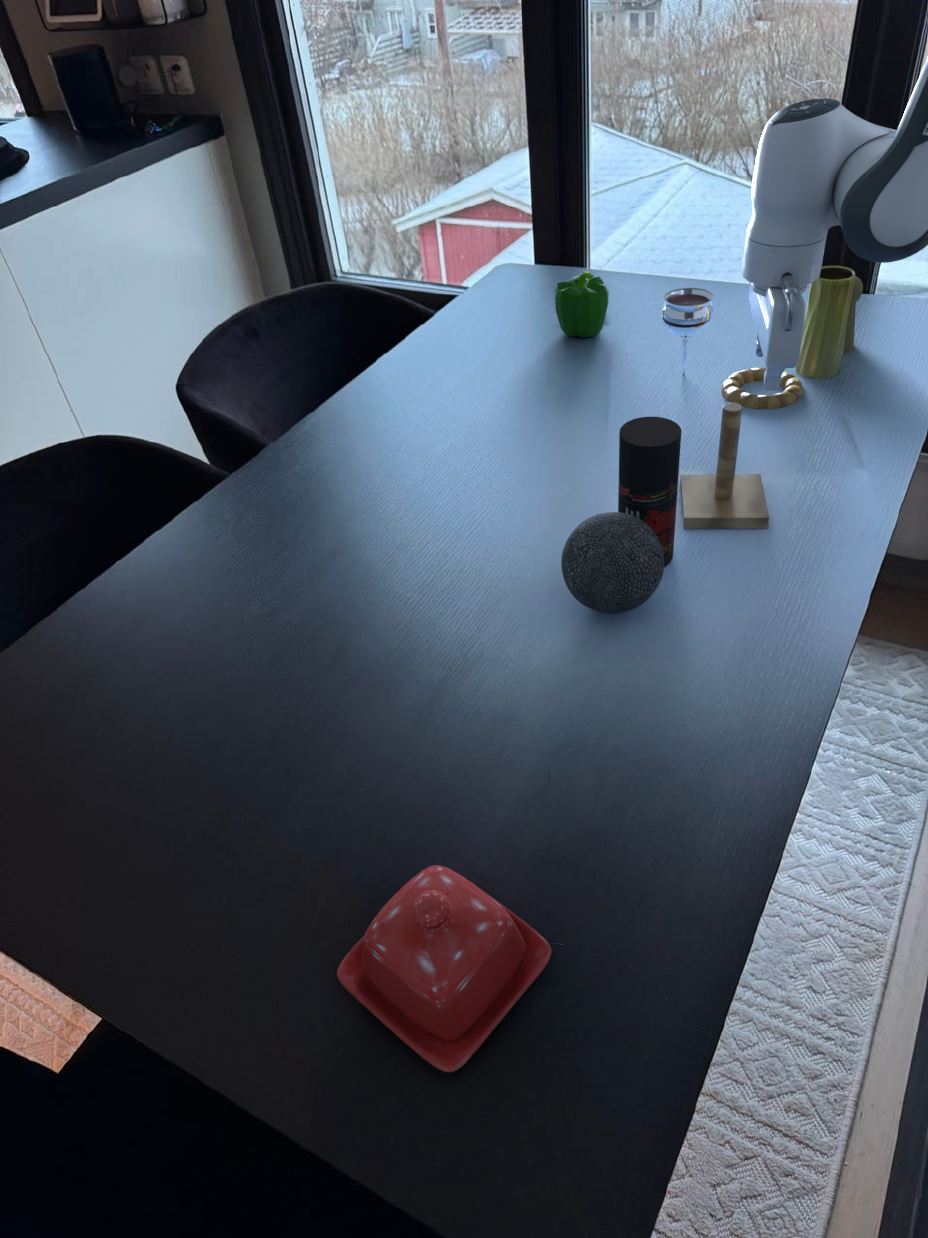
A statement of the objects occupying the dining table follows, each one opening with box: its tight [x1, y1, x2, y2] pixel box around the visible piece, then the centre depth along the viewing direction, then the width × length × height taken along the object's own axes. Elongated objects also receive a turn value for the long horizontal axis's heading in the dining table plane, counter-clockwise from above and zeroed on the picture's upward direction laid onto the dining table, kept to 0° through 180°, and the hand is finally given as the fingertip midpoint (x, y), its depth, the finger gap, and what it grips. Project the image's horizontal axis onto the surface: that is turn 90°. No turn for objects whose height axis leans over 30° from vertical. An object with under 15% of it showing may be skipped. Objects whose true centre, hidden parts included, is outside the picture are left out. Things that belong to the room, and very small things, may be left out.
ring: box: [720, 367, 805, 410], centre depth 118 cm, size 10×10×2 cm
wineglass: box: [661, 286, 715, 375], centre depth 121 cm, size 7×7×12 cm
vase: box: [794, 265, 856, 379], centre depth 118 cm, size 6×6×14 cm
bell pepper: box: [554, 270, 610, 338], centre depth 138 cm, size 8×8×10 cm
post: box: [679, 402, 770, 530], centre depth 97 cm, size 9×9×12 cm
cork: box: [843, 275, 864, 355], centre depth 123 cm, size 6×6×11 cm
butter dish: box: [336, 864, 553, 1073], centre depth 59 cm, size 12×12×8 cm
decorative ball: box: [560, 511, 665, 614], centre depth 87 cm, size 10×10×10 cm
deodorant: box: [617, 416, 683, 568], centre depth 91 cm, size 6×6×15 cm
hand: (766, 370), depth 112 cm, fingers open, 8 cm apart
